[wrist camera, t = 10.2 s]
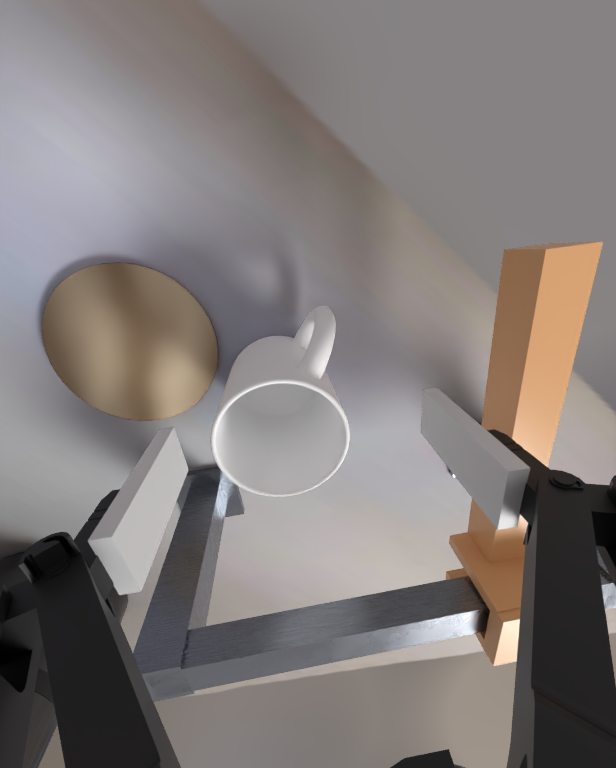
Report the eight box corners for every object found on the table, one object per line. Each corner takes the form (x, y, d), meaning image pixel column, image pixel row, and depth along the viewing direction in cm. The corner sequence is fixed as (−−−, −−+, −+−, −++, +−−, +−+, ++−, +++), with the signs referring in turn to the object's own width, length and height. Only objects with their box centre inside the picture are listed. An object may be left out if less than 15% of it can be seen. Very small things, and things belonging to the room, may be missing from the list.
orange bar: (445, 578, 24) (493, 666, 19) (477, 253, 14) (588, 254, 9) (508, 566, 24) (571, 650, 19) (578, 239, 15) (741, 233, 10)
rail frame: (188, 519, 33) (126, 721, 19) (171, 474, 31) (86, 668, 16) (501, 464, 35) (658, 611, 21) (508, 418, 32) (693, 548, 18)
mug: (272, 273, 24) (273, 287, 15) (360, 319, 27) (410, 357, 17) (217, 399, 28) (189, 474, 19) (298, 430, 30) (311, 511, 21)
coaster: (87, 428, 28) (83, 431, 27) (14, 275, 22) (7, 275, 22) (233, 405, 28) (232, 408, 28) (195, 251, 23) (193, 252, 23)
